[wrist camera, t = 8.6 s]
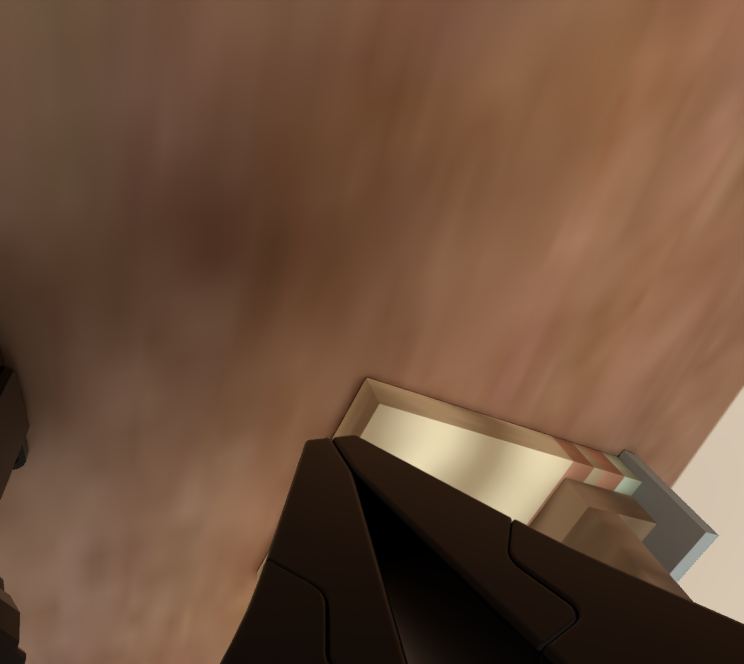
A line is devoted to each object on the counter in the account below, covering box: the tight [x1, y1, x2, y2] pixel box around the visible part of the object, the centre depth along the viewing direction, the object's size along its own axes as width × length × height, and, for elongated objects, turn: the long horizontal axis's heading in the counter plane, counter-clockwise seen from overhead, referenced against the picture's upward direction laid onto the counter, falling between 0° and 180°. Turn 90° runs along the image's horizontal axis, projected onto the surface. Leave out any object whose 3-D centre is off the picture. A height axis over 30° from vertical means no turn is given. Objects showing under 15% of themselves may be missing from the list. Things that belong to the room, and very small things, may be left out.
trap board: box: [257, 378, 642, 581], centre depth 30 cm, size 16×12×2 cm
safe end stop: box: [619, 450, 719, 582], centre depth 32 cm, size 1×13×6 cm, turn 152°
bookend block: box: [529, 478, 693, 602], centre depth 26 cm, size 5×10×11 cm, turn 152°
